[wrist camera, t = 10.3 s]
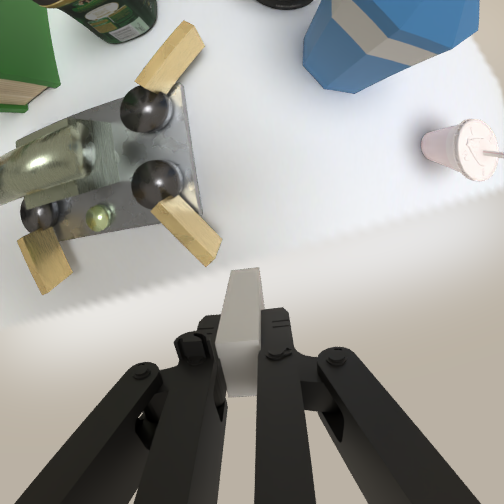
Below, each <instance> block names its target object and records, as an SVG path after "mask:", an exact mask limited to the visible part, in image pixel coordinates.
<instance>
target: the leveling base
mask: <svg viewBox="0 0 504 504" xmlns="http://www.w3.org/2000/svg"><path fill="white" fill-rule="evenodd" d="M167 95H168V96H169V98H170V99H171V102H172V108H173V109H172V115H171V118H170V120H169V122H168V123H167V124H166V126H165V127H163V128H162V129H161V130H159V131H157V132H154V133H139V132H133V131H131V130H129V129H128V128H126V127H125V126H124V124H123V123H122V121H121V118H120V106H121V103H122V100H123V99H124V97H123V98H120V99H117V100H114V101H111V102H108V103H105V104H102V105H99V106H96V107H94V108H91V109H88V110H85V111H83V112H80V113H78V114H75V115H72V116H70V117H67V118H65V119H63V120H60V121H58V122H56V123H53V124H51V125H49V126H46V127H44V128H42V129H40V130H38V131H36V132H33V133H31V134H29V135H27V136H25V137H23V138H21V139H19V140H17V141H16V149H14V150H12V151H10V152H8V153H6V154H5V155H3V156H1V157H0V206H1V205H3V204H6V203H8V202H11V201H13V200H16V199H19V198H22V197H24V200H25V205H26V209H27V210H28V209H32V208H35V207H38V206H41V205H44V204H48V203H51V202H55V201H57V204H58V209H59V215H58V220H57V222H56V224H55V225H54V226H53V230H54V232H55V235H56V237H57V239H58V242H59V241H64V240H69V239H75V238H80V237H85V236H90V235H96V234H101V233H107V232H112V231H118V230H124V229H129V228H135V227H141V226H147V225H153V224H159V223H161V222H160V221H159V220H158V219H157V218H156V217H155V216H154V215H153V214H152V213H151V212H150V211H151V210H152V209H147V208H145V207H143V206H142V205H140V204H139V203H138V202H137V201H136V199H135V198H134V196H133V193H132V189H131V180H132V176H133V174H134V172H135V170H136V169H137V168H138V167H139V166H140V165H141V164H143V163H145V162H147V161H151V160H159V159H165V160H169V161H171V162H173V163H174V164H175V165H177V167H178V168H179V169H180V171H181V173H182V176H183V189H182V192H181V194H180V196H181V198H182V199H183V200H184V201H185V202H186V203H187V204H188V205H189V206H190V207H191V208H192V209H193V210H194V211H195V212H196V213H197V214H198V215H199V216H201V215H202V214H203V212H202V206H201V200H200V194H199V188H198V182H197V176H196V169H195V163H194V157H193V150H192V143H191V136H190V130H189V123H188V115H187V108H186V100H185V93H184V86H183V85H182V84H180V83H176V84H174V85H173V86H172V88H171V89H170V90H169V92H168V93H167Z"/></svg>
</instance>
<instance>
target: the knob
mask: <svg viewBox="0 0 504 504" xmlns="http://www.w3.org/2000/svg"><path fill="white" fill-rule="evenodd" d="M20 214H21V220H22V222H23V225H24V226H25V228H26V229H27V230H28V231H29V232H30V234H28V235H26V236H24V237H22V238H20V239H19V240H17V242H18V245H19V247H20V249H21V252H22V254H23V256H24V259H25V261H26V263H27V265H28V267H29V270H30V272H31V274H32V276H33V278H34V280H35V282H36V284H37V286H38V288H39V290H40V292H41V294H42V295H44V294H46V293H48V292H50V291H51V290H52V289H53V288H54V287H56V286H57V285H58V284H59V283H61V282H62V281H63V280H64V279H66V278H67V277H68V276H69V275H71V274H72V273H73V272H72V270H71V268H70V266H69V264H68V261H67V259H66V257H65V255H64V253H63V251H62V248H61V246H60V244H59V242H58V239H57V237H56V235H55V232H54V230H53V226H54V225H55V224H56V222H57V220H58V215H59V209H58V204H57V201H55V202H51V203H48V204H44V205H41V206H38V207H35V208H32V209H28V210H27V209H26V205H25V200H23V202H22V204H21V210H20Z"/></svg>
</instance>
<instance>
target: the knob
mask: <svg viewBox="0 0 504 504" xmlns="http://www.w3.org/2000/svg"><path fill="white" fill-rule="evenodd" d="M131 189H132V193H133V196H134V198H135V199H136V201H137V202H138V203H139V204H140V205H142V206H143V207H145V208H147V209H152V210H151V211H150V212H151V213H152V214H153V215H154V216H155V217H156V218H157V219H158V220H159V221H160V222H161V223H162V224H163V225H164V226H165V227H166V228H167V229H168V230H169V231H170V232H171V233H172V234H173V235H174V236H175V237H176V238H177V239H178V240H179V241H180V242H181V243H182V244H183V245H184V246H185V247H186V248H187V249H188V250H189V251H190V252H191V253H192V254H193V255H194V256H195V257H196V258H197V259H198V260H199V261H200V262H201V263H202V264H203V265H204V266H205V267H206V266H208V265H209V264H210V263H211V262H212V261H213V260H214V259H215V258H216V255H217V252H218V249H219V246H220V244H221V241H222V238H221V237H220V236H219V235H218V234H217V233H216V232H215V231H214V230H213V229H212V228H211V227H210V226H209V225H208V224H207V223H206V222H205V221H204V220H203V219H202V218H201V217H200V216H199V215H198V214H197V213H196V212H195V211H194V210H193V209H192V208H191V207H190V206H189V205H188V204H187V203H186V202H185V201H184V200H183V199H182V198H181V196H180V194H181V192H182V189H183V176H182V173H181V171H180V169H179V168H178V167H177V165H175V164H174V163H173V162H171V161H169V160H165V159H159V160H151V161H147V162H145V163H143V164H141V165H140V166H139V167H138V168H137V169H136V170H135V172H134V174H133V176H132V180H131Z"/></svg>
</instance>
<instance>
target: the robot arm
mask: <svg viewBox="0 0 504 504" xmlns="http://www.w3.org/2000/svg"><path fill="white" fill-rule="evenodd" d="M174 345H175V348H176V351H177V354H178V358H179V363H178V365H177V366H175V367H172V368H168V369H164V370H159V368H158V366H157V365H156V364H154V363H151V362H143V363H138V364H136V365H134V366H132V367H131V368H130V369H128V371H127V372H126V373H125V374H124V375H123V376H122V377H121V378H120V380H119V381H118V382H117V383H116V384H115V385H114V387H113V388H112V389H111V390H110V391H109V392H108V393H107V395H106V396H105V397H104V398H103V399H102V401H101V402H100V403H99V404H98V405H97V406H96V407H95V408H94V410H93V411H92V412H91V413H90V414H89V415H88V417H87V418H86V419H85V420H84V421H83V422H82V424H81V425H80V426H79V427H78V428H77V429H76V431H75V432H74V433H73V434H72V435H71V437H70V438H69V439H68V440H67V441H66V443H65V444H64V445H63V446H62V447H61V448H60V450H59V451H58V452H57V453H56V454H55V455H54V457H53V458H52V459H51V460H50V461H49V463H48V464H47V465H46V466H45V467H44V469H43V470H42V471H41V472H40V473H39V475H38V476H37V477H36V478H35V479H34V481H33V482H32V483H31V484H30V485H29V487H28V488H27V489H26V490H25V491H24V493H23V494H22V495H21V496H20V498H19V499H18V500H17V501H16V503H15V504H128V503H129V501H130V500H131V498H132V496H133V495H134V493H135V492H136V490H137V488H138V491H137V494H136V497H135V501H134V504H217V499H218V490H219V481H220V471H221V462H222V452H223V444H224V435H225V426H226V417H227V409H228V406H227V401H226V398H225V396H226V389H227V393H228V397H244V396H257V417H256V459H255V496H254V504H316V499H315V491H314V482H313V474H312V465H311V457H310V450H309V442H308V435H307V427H306V419H305V413H304V410H310V411H318V415H319V417H320V419H321V420H322V422H323V424H324V426H325V427H326V429H327V431H328V433H329V435H330V437H331V438H332V440H333V442H334V444H335V445H336V447H337V449H338V451H339V453H340V454H341V456H342V458H343V460H344V462H345V463H346V465H347V467H348V469H349V471H350V472H351V474H352V476H353V478H354V479H355V481H356V483H357V485H358V486H359V488H360V490H361V492H362V493H363V495H364V497H365V499H366V500H367V502H368V504H481V503H480V502H479V501H478V500H477V498H476V497H475V496H474V495H473V494H472V492H471V491H470V490H469V489H468V487H467V486H466V485H465V484H464V483H463V481H462V480H461V479H460V478H459V477H458V475H457V474H456V473H455V472H454V470H453V469H452V468H451V467H450V466H449V464H448V463H447V462H446V461H445V460H444V458H443V457H442V456H441V455H440V454H439V452H438V451H437V450H436V449H435V448H434V446H433V445H432V444H431V443H430V442H429V440H428V439H427V438H426V437H425V436H424V435H423V433H422V432H421V431H420V430H419V428H418V427H417V426H416V425H415V424H414V423H413V421H412V420H411V419H410V418H409V417H408V416H407V414H406V413H405V412H404V411H403V410H402V408H401V407H400V406H399V405H398V404H397V402H396V401H395V400H394V399H393V398H392V397H391V395H390V394H389V393H388V392H387V391H386V390H385V388H384V387H383V386H382V385H381V384H380V382H379V381H378V380H377V379H376V378H375V377H374V375H373V374H372V373H371V372H370V371H369V370H368V368H367V367H366V366H365V365H364V364H363V362H362V361H361V360H360V359H359V358H358V357H357V356H356V354H355V353H354V352H352V351H351V350H350V349H347V348H344V347H332V348H328V349H326V350H324V351H322V352H321V353H320V354H319V355H318V357H311V356H305V355H302V354H300V353H299V352H297V350H296V349H295V348H294V345H293V338H292V332H291V325H290V320H289V313H288V312H287V311H286V310H285V309H284V308H283V307H282V308H273V309H264V300H263V293H262V286H261V278H260V271H259V267H257V268H248V269H240V270H231V273H230V278H229V283H228V286H227V291H226V296H225V300H224V304H223V309H222V313H221V314H220V315H208V316H205V317H204V318H203V319H202V320H201V321H200V322H199V325H198V328H197V331H193V332H187V333H185V334H182V335H180V336H179V337H178V338H176V340H175V341H174ZM141 413H143V414H142V415H141V416H140V414H141ZM139 416H140V417H139ZM138 417H139V418H138Z"/></svg>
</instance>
